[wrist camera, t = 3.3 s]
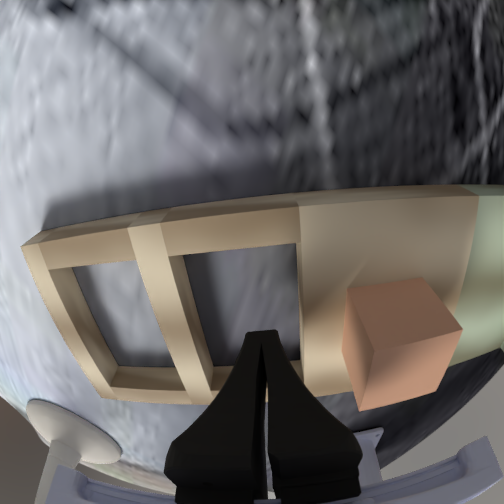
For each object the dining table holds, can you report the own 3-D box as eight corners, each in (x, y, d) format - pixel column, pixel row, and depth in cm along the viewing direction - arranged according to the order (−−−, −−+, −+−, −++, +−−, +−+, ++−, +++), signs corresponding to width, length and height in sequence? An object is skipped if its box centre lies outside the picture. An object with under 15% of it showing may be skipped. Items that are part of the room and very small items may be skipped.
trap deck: (496, 328, 17) (525, 368, 13) (109, 378, 19) (88, 430, 15) (534, 186, 12) (585, 213, 8) (40, 231, 14) (-14, 275, 9)
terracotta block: (408, 337, 14) (435, 391, 11) (341, 350, 15) (359, 411, 11) (422, 277, 13) (463, 329, 9) (346, 288, 13) (374, 350, 9)
